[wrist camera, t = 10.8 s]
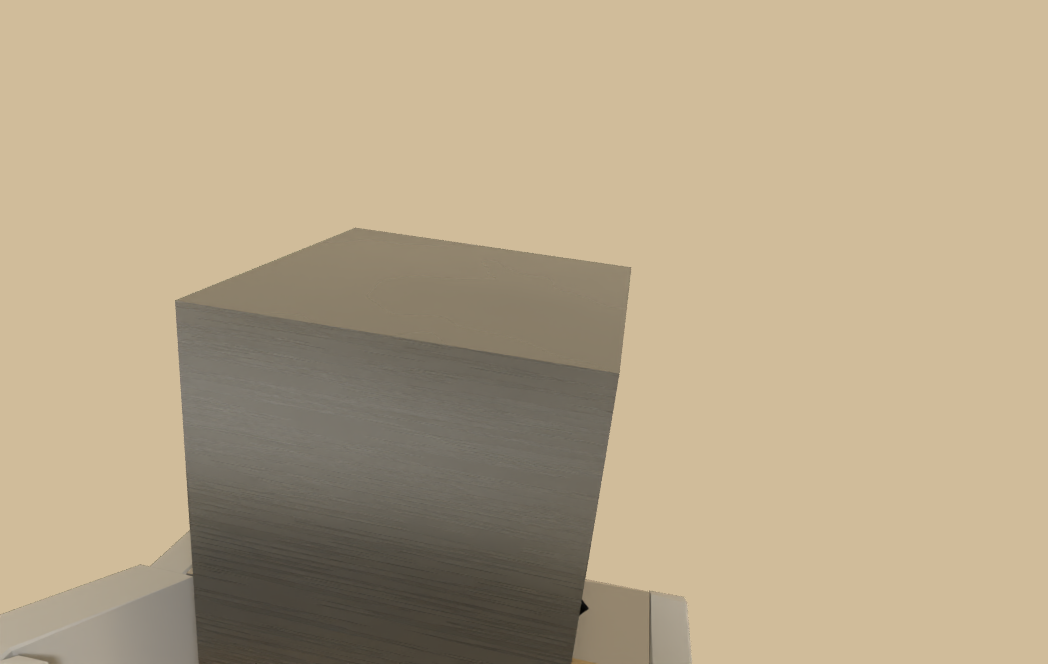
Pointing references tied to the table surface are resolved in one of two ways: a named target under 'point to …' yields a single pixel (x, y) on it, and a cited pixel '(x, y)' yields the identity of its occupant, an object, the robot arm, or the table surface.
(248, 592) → the block
